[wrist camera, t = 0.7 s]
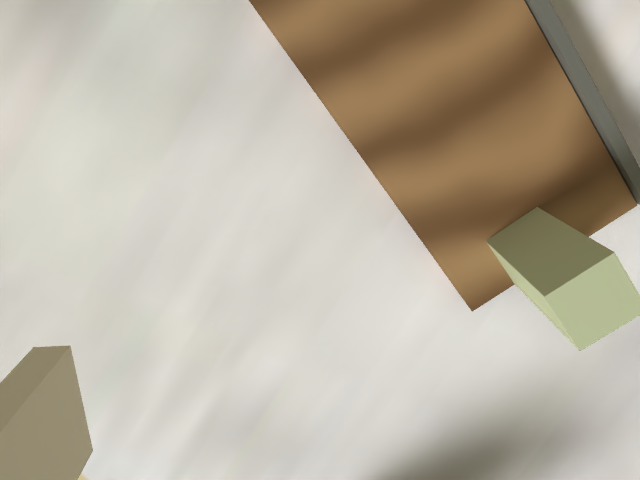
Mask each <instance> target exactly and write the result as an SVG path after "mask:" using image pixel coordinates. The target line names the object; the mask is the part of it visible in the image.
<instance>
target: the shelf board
mask: <svg viewBox="0 0 640 480" xmlns="http://www.w3.org/2000/svg"><path fill="white" fill-rule="evenodd" d="M249 1H250V3H251V4H252V5H253V7H254V8H255V9H256V11H257V12H258V14H259V15H260V16H261V18H262V19H263V21H264V22H265V23H266V25H267V26H268V28H269V29H270V30H271V32H272V33H273V35H274V36H275V37H276V39H277V40H278V42H279V43H280V44H281V46H282V47H283V49H284V50H285V51H286V53H287V54H288V55H289V57H290V58H291V60H292V61H293V62H294V64H295V65H296V67H297V68H298V69H299V71H300V72H301V74H302V75H303V76H304V78H305V79H306V81H307V82H308V83H309V85H310V86H311V88H312V89H313V90H314V92H315V93H316V95H317V96H318V97H319V99H320V100H321V101H322V103H323V104H324V106H325V107H326V108H327V110H328V111H329V113H330V114H331V115H332V117H333V118H334V120H335V121H336V122H337V124H338V125H339V127H340V128H341V129H342V131H343V132H344V134H345V135H346V136H347V138H348V139H349V141H350V142H351V143H352V145H353V146H354V147H355V149H356V150H357V152H358V153H359V154H360V156H361V157H362V159H363V160H364V161H365V163H366V164H367V166H368V167H369V168H370V170H371V171H372V173H373V174H374V175H375V177H376V178H377V180H378V181H379V182H380V184H381V185H382V187H383V188H384V189H385V191H386V192H387V193H388V195H389V196H390V198H391V199H392V200H393V202H394V203H395V205H396V206H397V207H398V209H399V210H400V212H401V213H402V214H403V216H404V217H405V219H406V220H407V221H408V223H409V224H410V226H411V227H412V228H413V230H414V231H415V233H416V234H417V235H418V237H419V238H420V239H421V241H422V242H423V244H424V245H425V246H426V248H427V249H428V251H429V252H430V253H431V255H432V256H433V258H434V259H435V260H436V262H437V263H438V265H439V266H440V267H441V269H442V270H443V272H444V273H445V274H446V276H447V277H448V278H449V280H450V281H451V283H452V284H453V285H454V287H455V288H456V290H457V291H458V292H459V294H460V295H461V297H462V298H463V299H464V301H465V302H466V304H467V305H468V306H469V308H470V309H471V311H474V310H475V309H477V308H478V307H480V306H481V305H483V304H485V303H486V302H488V301H489V300H491V299H492V298H494V297H495V296H497V295H499V294H500V293H502V292H503V291H505V290H506V289H508V288H509V287H511V286H513V285H514V282H513V281H512V279H511V278H510V276H509V275H508V273H507V272H506V270H505V269H504V267H503V266H502V265H501V263H500V262H499V260H498V259H497V257H496V256H495V254H494V253H493V251H492V250H491V248H490V247H489V245H488V244H487V242H486V241H487V240H488V239H490V238H491V237H493V236H494V235H496V234H497V233H499V232H500V231H502V230H503V229H505V228H506V227H508V226H509V225H511V224H512V223H514V222H515V221H517V220H518V219H520V218H521V217H523V216H524V215H526V214H527V213H529V212H530V211H532V210H533V209H535V208H536V207H538V208H540V209H542V210H543V211H545V212H547V213H548V214H550V215H552V216H554V217H555V218H557V219H559V220H560V221H562V222H564V223H565V224H567V225H569V226H570V227H572V228H574V229H576V230H577V231H579V232H581V233H582V234H584V235H586V236H587V237H589V236H590V235H592V234H593V233H595V232H597V231H598V230H600V229H601V228H603V227H604V226H606V225H607V224H609V223H611V222H612V221H614V220H615V219H617V218H618V217H620V216H621V215H623V214H625V213H626V212H628V211H629V210H631V209H632V208H634V207H635V206H637V203H636V201H635V200H634V198H633V196H632V194H631V192H630V191H629V189H628V187H627V185H626V183H625V181H624V180H623V178H622V176H621V174H620V172H619V171H618V169H617V167H616V165H615V163H614V162H613V160H612V158H611V156H610V154H609V153H608V151H607V149H606V147H605V145H604V144H603V142H602V140H601V138H600V136H599V134H598V133H597V131H596V129H595V127H594V125H593V124H592V122H591V120H590V118H589V116H588V115H587V113H586V111H585V109H584V107H583V106H582V104H581V102H580V100H579V98H578V97H577V95H576V93H575V91H574V89H573V87H572V86H571V84H570V82H569V80H568V78H567V77H566V75H565V73H564V71H563V69H562V68H561V66H560V64H559V62H558V60H557V59H556V57H555V55H554V53H553V51H552V50H551V48H550V46H549V44H548V42H547V40H546V39H545V37H544V35H543V33H542V31H541V30H540V28H539V26H538V24H537V22H536V21H535V19H534V17H533V15H532V13H531V12H530V10H529V8H528V6H527V4H526V3H525V1H524V0H249Z"/></svg>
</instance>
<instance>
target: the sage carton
mask: <svg viewBox="0 0 640 480" xmlns="http://www.w3.org/2000/svg"><path fill="white" fill-rule="evenodd" d="M486 242H487V244H488V245H489V247H490V248H491V250H492V251H493V253H494V254H495V256H496V257H497V259H498V260H499V262H500V263H501V265H502V266H503V267H504V269H505V270H506V272H507V273H508V275H509V276H510V278H511V279H512V281H513V282H514V284H515V285H516V286H517V287H518V288H519V289H520V290H521V291H522V292H523V293H524V294H525V295H526V296H527V297H528V298H529V299H530V300H531V301H532V302H533V303H534V304H535V305H536V306H537V308H538V309H539V310H540V311H541V312H542V313H543V314H544V315H545V316H546V317H547V318H548V319H549V320H550V321H551V322H552V323H553V324H554V325H555V326H556V327H557V328H558V329H559V330H560V331H561V332H562V333H563V334H564V335H565V336H566V337H567V338H568V339H569V340H570V341H571V342H572V343H573V344H574V345H575V347H576V348H577V349H578V350H579V351H581V350H583V349H585V348H586V347H588V346H590V345H591V344H593V343H595V342H596V341H598V340H600V339H601V338H603V337H605V336H606V335H608V334H610V333H611V332H613V331H614V330H616V329H618V328H619V327H621V326H623V325H624V324H626V323H628V322H629V321H631V320H633V319H634V318H636V317H638V316H639V315H640V295H639V293H638V292H637V290H636V288H635V287H634V285H633V283H632V281H631V280H630V278H629V276H628V275H627V273H626V271H625V270H624V268H623V266H622V264H621V263H620V261H619V259H618V258H617V256H616V254H615V253H614V252H613V251H611V250H609V249H608V248H606V247H604V246H603V245H601V244H599V243H598V242H596V241H594V240H592V239H591V238H589V237H587V236H586V235H584V234H582V233H581V232H579V231H577V230H576V229H574V228H572V227H570V226H569V225H567V224H565V223H564V222H562V221H560V220H559V219H557V218H555V217H554V216H552V215H550V214H548V213H547V212H545V211H543V210H542V209H540V208H538V207H536V208H535V209H533V210H532V211H530V212H529V213H527V214H526V215H524V216H523V217H521V218H520V219H518V220H517V221H515V222H514V223H512V224H511V225H509V226H508V227H506V228H505V229H503V230H502V231H500V232H499V233H497V234H496V235H494V236H493V237H491V238H490V239H488V240H487V241H486Z"/></svg>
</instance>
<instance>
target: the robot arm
mask: <svg viewBox="0 0 640 480" xmlns="http://www.w3.org/2000/svg"><path fill="white" fill-rule="evenodd" d="M92 451H93V449H92V444H91V439H90V435H89V430H88V426H87V421H86V416H85V412H84V407H83V402H82V398H81V393H80V389H79V384H78V379H77V375H76V370H75V365H74V361H73V356H72V351H71V347H70V346H52V347H33V349H32V350H31V351H30V352H29V353H28V354H27V355H26V356H25V357H24V358H23V359H22V360H21V361H20V363H19V364H18V365H17V366H16V367H15V368H14V369H13V370H12V371H11V372H10V373H9V374H8V375H7V376H6V378H5V379H4V380H3V381H2V382H1V383H0V480H77V479H78V478H79V476H80V474H81V472H82V470H83V468H84V466H85V464H86V462H87V461H88V459H89V457H90V455H91V453H92Z"/></svg>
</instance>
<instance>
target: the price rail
mask: <svg viewBox="0 0 640 480" xmlns="http://www.w3.org/2000/svg"><path fill="white" fill-rule="evenodd" d="M524 1H525V3H526V4H527V6H528V8H529V10H530V12H531V13H532V15H533V17H534V19H535V21H536V22H537V24H538V26H539V28H540V30H541V31H542V33H543V35H544V37H545V39H546V40H547V42H548V44H549V46H550V48H551V50H552V51H553V53H554V55H555V57H556V59H557V60H558V62H559V64H560V66H561V68H562V69H563V71H564V73H565V75H566V77H567V78H568V80H569V82H570V84H571V86H572V87H573V89H574V91H575V93H576V95H577V97H578V98H579V100H580V102H581V104H582V106H583V107H584V109H585V111H586V113H587V115H588V116H589V118H590V120H591V122H592V124H593V125H594V127H595V129H596V131H597V133H598V134H599V136H600V138H601V140H602V142H603V144H604V145H605V147H606V149H607V151H608V153H609V154H610V156H611V158H612V160H613V162H614V163H615V165H616V167H617V169H618V171H619V172H620V174H621V176H622V178H623V180H624V181H625V183H626V185H627V187H628V189H629V191H630V192H631V194H632V196H633V198H634V200H635V201H636V203H637V204H640V168H639V166H638V164H637V162H636V160H635V159H634V157H633V155H632V153H631V151H630V149H629V147H628V146H627V144H626V142H625V140H624V138H623V136H622V134H621V133H620V131H619V129H618V127H617V125H616V123H615V121H614V120H613V118H612V116H611V114H610V112H609V110H608V108H607V107H606V105H605V103H604V101H603V99H602V97H601V95H600V94H599V92H598V90H597V88H596V86H595V84H594V82H593V81H592V79H591V77H590V75H589V73H588V71H587V69H586V68H585V66H584V64H583V62H582V60H581V58H580V56H579V55H578V53H577V51H576V49H575V47H574V45H573V43H572V42H571V40H570V38H569V36H568V34H567V32H566V30H565V29H564V27H563V25H562V23H561V21H560V19H559V17H558V16H557V14H556V12H555V10H554V8H553V6H552V4H551V3H550V1H549V0H524Z"/></svg>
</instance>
